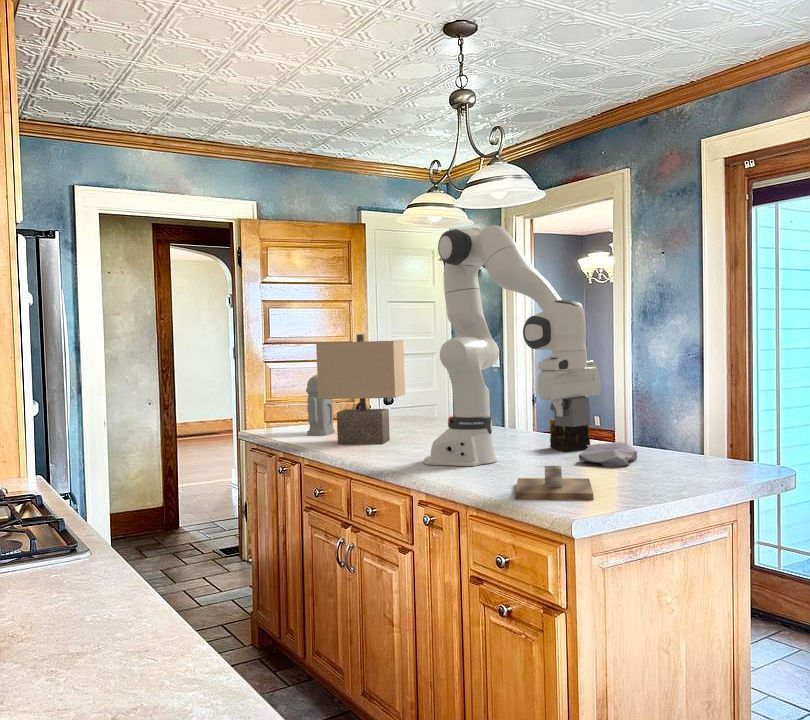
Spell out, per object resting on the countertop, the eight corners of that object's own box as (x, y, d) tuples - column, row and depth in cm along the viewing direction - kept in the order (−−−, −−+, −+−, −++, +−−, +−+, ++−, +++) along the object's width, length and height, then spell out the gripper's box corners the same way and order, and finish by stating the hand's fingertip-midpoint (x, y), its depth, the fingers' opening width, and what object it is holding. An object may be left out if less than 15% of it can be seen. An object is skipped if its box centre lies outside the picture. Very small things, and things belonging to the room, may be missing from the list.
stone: (626, 469, 210) (626, 451, 210) (575, 466, 217) (574, 449, 217) (642, 458, 227) (641, 441, 227) (594, 456, 235) (593, 440, 234)
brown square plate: (515, 499, 175) (514, 473, 175) (518, 484, 193) (517, 461, 192) (593, 499, 172) (592, 474, 171) (589, 484, 189) (588, 460, 189)
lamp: (319, 445, 276) (315, 335, 275) (334, 439, 293) (330, 335, 292) (396, 445, 270) (393, 332, 269) (406, 438, 288) (403, 332, 286)
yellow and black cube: (563, 452, 242) (562, 421, 242) (549, 448, 252) (548, 419, 252) (591, 450, 245) (590, 420, 245) (575, 446, 255) (575, 417, 255)
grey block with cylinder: (573, 426, 188) (572, 399, 188) (546, 424, 196) (545, 398, 196) (590, 424, 192) (589, 397, 192) (562, 422, 200) (561, 396, 200)
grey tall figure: (315, 431, 319) (313, 374, 319) (338, 431, 317) (336, 373, 316) (302, 436, 305) (300, 375, 304) (326, 436, 303) (324, 375, 302)
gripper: (587, 360, 201) (589, 410, 201) (533, 363, 189) (535, 417, 190) (605, 360, 196) (607, 412, 196) (551, 363, 184) (553, 419, 184)
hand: (571, 414), depth 193 cm, fingers closed on grey block with cylinder, 6 cm apart
